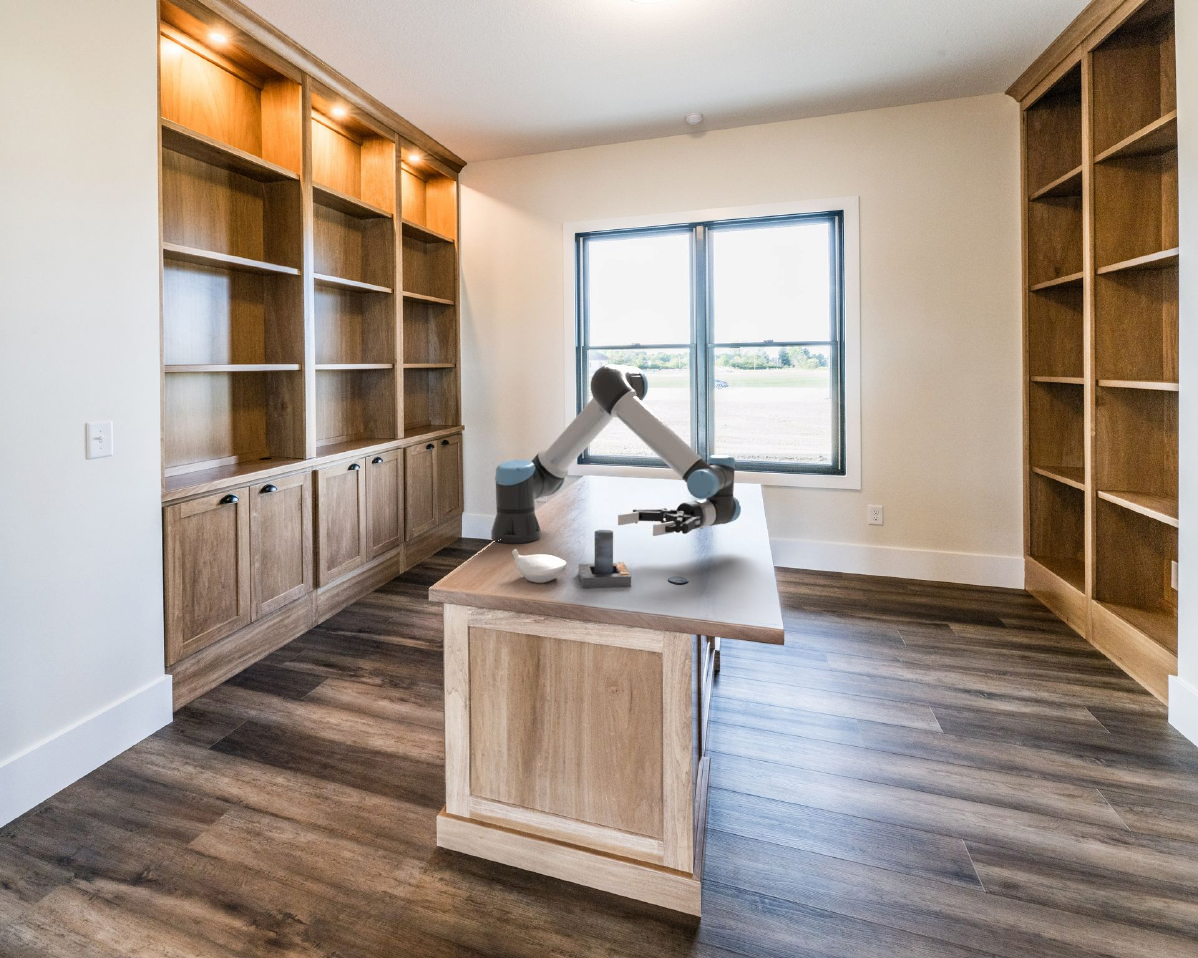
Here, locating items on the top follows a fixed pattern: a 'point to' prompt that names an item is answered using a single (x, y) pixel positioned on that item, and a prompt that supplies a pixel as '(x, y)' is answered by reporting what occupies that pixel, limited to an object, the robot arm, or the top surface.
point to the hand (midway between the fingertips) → (635, 525)
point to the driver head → (539, 566)
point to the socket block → (604, 576)
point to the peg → (603, 552)
